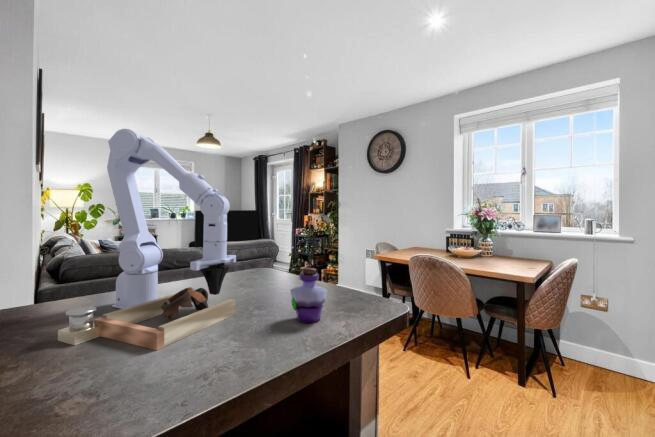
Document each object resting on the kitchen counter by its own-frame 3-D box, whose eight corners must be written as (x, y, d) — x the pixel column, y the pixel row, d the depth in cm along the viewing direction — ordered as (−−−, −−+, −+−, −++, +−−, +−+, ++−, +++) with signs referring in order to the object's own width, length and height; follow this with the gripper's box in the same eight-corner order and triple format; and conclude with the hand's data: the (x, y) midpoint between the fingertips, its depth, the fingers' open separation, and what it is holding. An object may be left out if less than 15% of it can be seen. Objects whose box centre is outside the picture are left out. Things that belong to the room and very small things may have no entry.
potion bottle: (282, 319, 71) (282, 267, 71) (309, 311, 78) (309, 263, 78) (307, 329, 66) (308, 273, 65) (334, 319, 72) (335, 268, 72)
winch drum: (57, 340, 58) (58, 311, 57) (87, 331, 62) (87, 304, 62) (74, 345, 56) (74, 315, 56) (103, 335, 60) (103, 307, 60)
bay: (94, 334, 61) (94, 316, 61) (182, 305, 81) (182, 291, 81) (156, 350, 54) (157, 330, 54) (235, 314, 74) (235, 299, 74)
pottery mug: (204, 330, 66) (183, 298, 64) (168, 345, 67) (146, 315, 65) (225, 300, 77) (208, 273, 75) (194, 314, 79) (176, 287, 77)
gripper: (206, 244, 71) (206, 303, 71) (245, 239, 85) (244, 289, 85) (183, 242, 74) (183, 299, 74) (224, 238, 87) (224, 286, 87)
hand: (214, 293), depth 80 cm, fingers closed
